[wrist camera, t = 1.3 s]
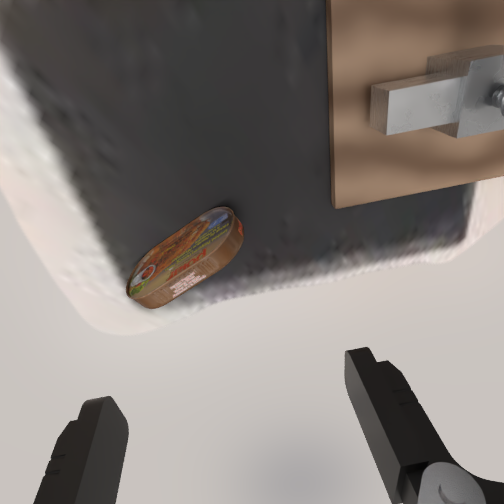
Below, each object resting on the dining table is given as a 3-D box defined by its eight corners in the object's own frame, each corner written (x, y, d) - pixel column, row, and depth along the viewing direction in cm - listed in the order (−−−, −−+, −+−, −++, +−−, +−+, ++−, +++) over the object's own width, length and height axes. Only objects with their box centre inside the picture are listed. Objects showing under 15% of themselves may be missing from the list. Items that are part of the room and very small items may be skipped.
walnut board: (324, -34, 28) (330, -37, 26) (605, -88, 28) (624, -94, 26) (331, 203, 40) (335, 208, 39) (526, 165, 40) (536, 169, 39)
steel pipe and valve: (364, 69, 31) (395, 75, 26) (553, 32, 31) (621, 31, 26) (362, 134, 34) (389, 151, 29) (533, 101, 34) (589, 112, 29)
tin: (229, 195, 38) (234, 231, 31) (244, 215, 40) (252, 254, 32) (131, 261, 41) (115, 308, 34) (149, 277, 43) (137, 325, 36)
